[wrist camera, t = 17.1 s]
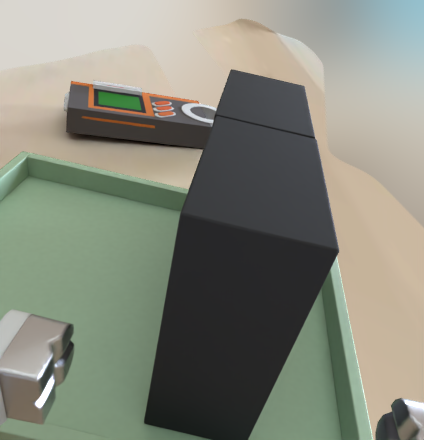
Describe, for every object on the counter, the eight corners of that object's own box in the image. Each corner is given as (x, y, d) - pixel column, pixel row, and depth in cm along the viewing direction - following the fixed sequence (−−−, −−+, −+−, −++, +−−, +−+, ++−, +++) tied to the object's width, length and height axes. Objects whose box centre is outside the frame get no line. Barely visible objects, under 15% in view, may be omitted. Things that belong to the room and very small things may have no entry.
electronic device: (237, 126, 37) (62, 102, 32) (229, 155, 38) (61, 136, 34) (220, 99, 42) (67, 75, 37) (213, 126, 44) (66, 105, 39)
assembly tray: (-225, 408, 14) (-253, 373, 13) (25, 177, 28) (22, 150, 27) (364, 544, 14) (390, 521, 13) (319, 245, 28) (330, 222, 27)
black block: (143, 424, 15) (179, 213, 10) (179, 295, 21) (215, 114, 16) (244, 448, 15) (340, 251, 10) (253, 312, 21) (317, 138, 16)
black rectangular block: (178, 293, 21) (214, 114, 16) (199, 220, 27) (231, 68, 21) (252, 310, 21) (315, 137, 16) (257, 233, 27) (304, 85, 21)
